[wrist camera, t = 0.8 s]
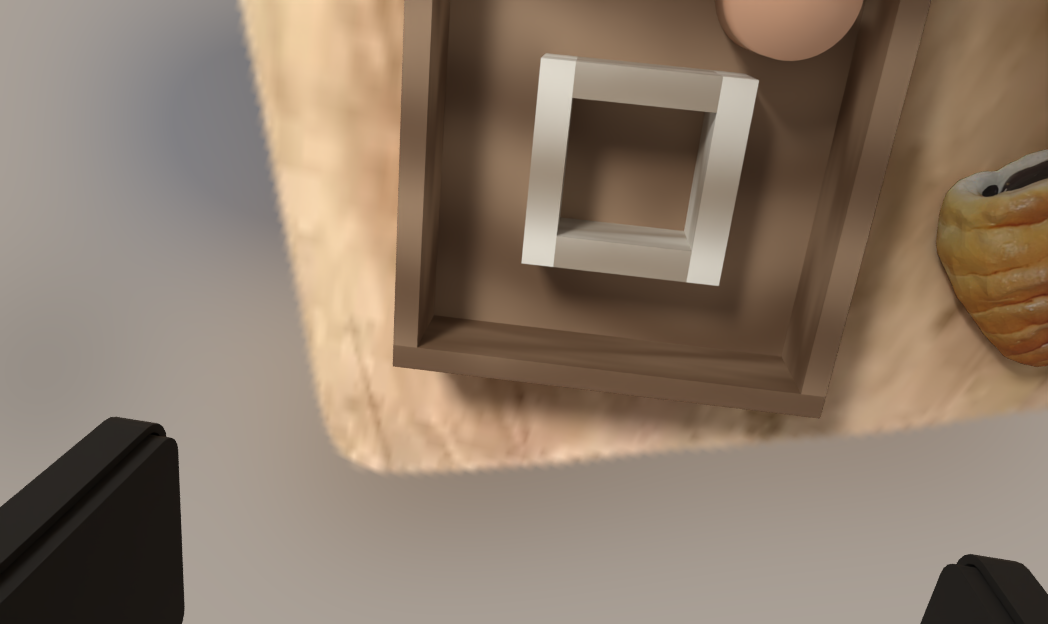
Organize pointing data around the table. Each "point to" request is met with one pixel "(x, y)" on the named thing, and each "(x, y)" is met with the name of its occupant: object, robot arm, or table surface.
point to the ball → (787, 25)
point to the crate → (638, 196)
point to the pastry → (1001, 254)
